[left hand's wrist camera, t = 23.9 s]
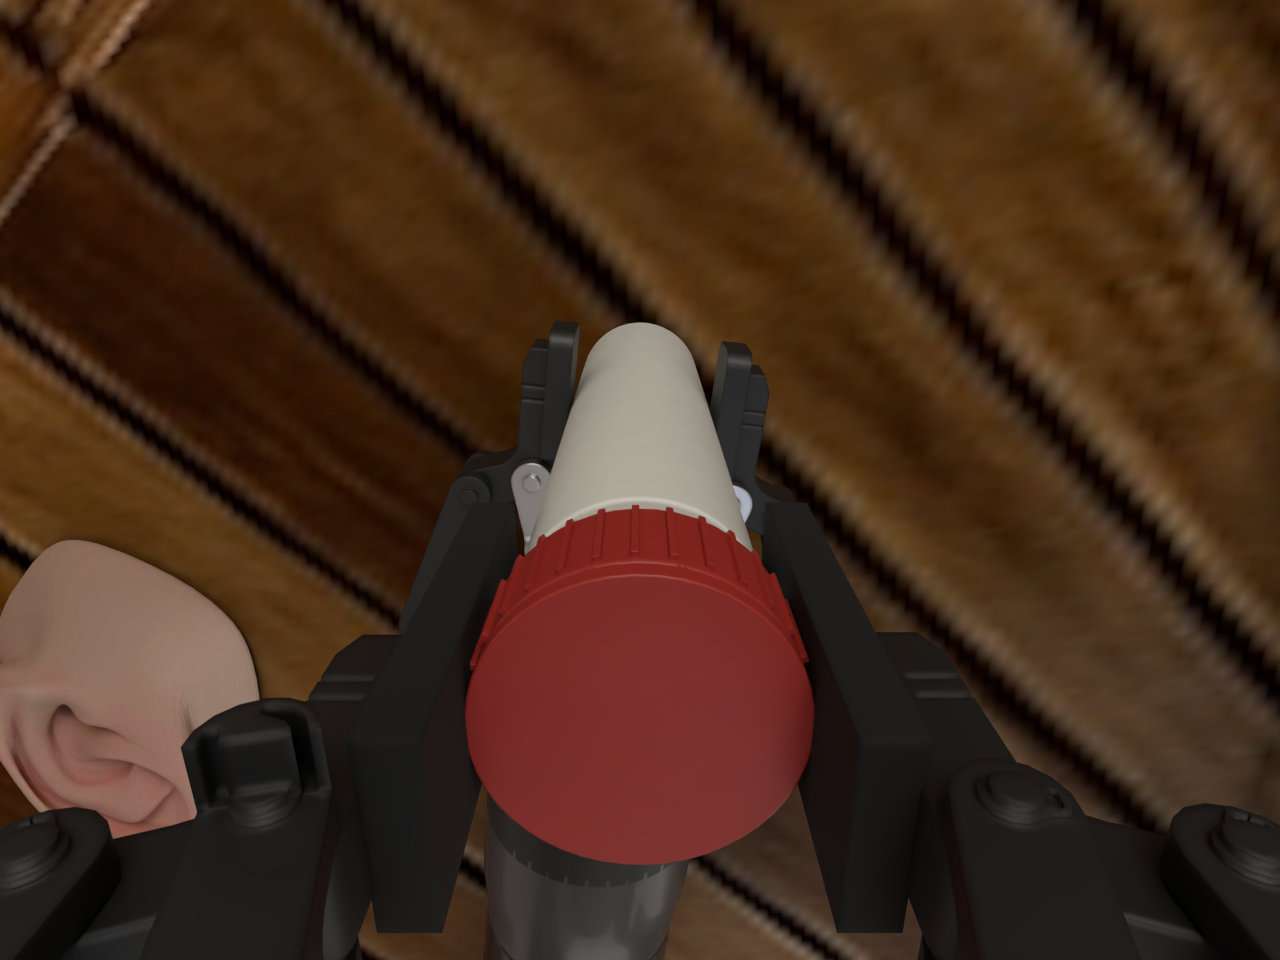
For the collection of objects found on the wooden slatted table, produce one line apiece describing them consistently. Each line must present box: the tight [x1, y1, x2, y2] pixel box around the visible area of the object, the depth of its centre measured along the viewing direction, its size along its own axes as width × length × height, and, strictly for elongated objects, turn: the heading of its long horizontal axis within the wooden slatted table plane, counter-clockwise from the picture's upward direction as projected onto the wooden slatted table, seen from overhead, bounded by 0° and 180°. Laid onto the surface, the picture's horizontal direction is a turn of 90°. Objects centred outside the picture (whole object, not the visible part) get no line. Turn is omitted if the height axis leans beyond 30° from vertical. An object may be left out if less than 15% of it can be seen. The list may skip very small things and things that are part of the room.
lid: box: [465, 505, 815, 865], centre depth 11 cm, size 5×5×2 cm
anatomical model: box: [0, 540, 260, 839], centre depth 32 cm, size 13×4×12 cm
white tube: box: [525, 323, 753, 555], centre depth 20 cm, size 4×4×19 cm
